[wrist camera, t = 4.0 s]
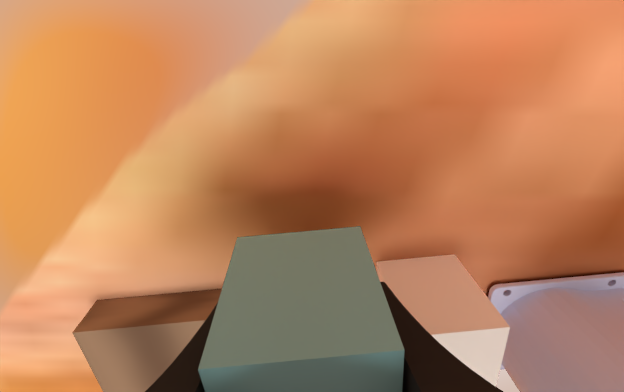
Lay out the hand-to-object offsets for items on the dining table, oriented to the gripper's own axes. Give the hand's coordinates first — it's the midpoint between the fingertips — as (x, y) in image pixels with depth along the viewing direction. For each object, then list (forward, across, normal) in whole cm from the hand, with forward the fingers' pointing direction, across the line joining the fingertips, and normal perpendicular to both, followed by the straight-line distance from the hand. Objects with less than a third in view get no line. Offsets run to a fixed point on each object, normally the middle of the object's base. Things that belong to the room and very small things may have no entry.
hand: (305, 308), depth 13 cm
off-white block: (+7, -7, +6) cm, 12 cm away
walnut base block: (+8, +9, +9) cm, 15 cm away
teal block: (+2, 0, 0) cm, 2 cm away
